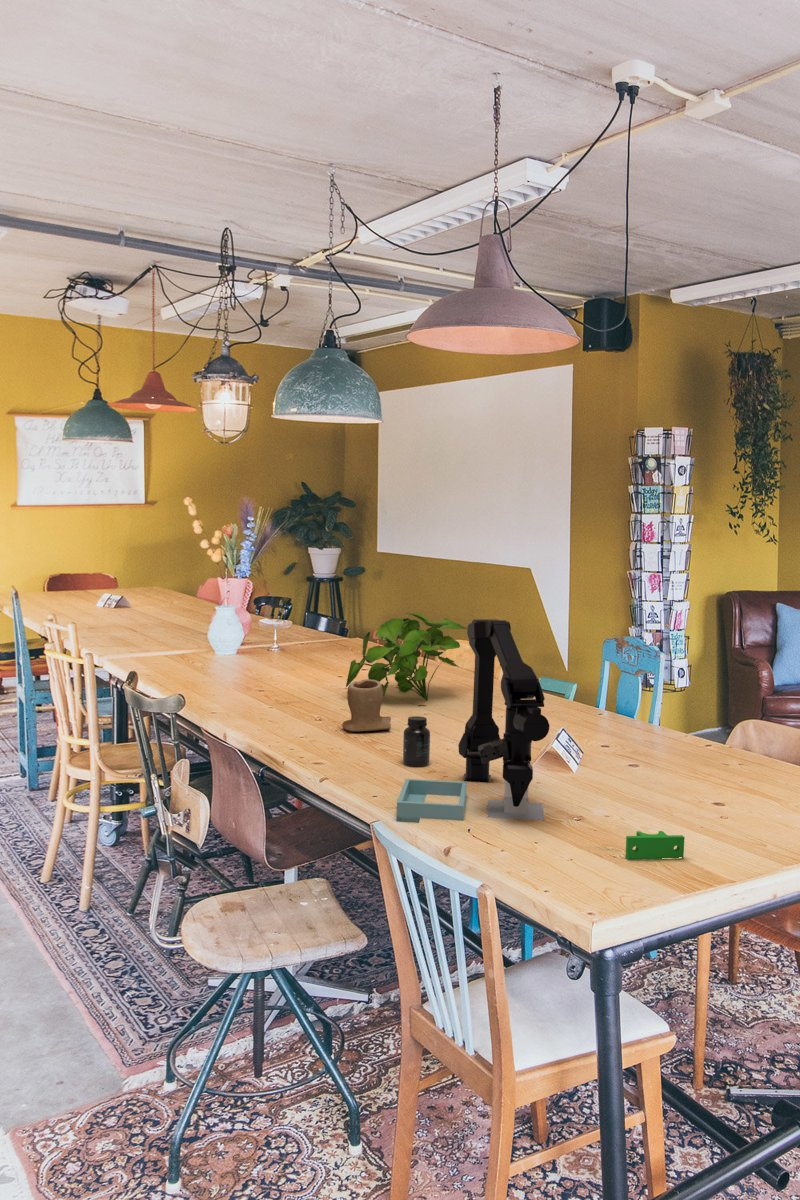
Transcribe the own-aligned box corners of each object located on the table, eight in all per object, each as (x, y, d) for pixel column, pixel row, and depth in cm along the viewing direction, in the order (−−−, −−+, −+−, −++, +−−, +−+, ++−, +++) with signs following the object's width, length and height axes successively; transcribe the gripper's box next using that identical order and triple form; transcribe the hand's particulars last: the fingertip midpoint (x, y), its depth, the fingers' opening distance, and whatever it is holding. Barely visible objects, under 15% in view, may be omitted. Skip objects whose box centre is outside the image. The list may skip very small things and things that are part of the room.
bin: (405, 795, 224) (405, 778, 224) (466, 799, 223) (466, 782, 223) (396, 820, 207) (396, 802, 206) (462, 824, 205) (463, 806, 205)
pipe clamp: (675, 853, 192) (677, 830, 192) (683, 860, 189) (684, 837, 188) (620, 853, 191) (621, 830, 190) (627, 860, 187) (628, 837, 187)
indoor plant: (422, 698, 303) (384, 609, 307) (344, 735, 332) (311, 654, 336) (508, 665, 334) (472, 585, 338) (430, 702, 363) (399, 628, 367)
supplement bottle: (399, 761, 254) (400, 715, 253) (423, 759, 256) (425, 714, 255) (408, 768, 248) (409, 721, 247) (433, 766, 250) (434, 720, 249)
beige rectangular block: (503, 805, 216) (505, 767, 215) (526, 807, 215) (528, 768, 214) (503, 812, 211) (505, 773, 210) (527, 814, 210) (528, 775, 209)
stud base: (488, 804, 219) (488, 786, 219) (542, 807, 218) (542, 789, 218) (487, 821, 208) (487, 802, 207) (544, 825, 206) (545, 805, 206)
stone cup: (347, 736, 280) (349, 684, 278) (339, 727, 291) (340, 677, 290) (399, 734, 284) (400, 683, 282) (388, 725, 295) (389, 676, 294)
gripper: (481, 718, 221) (479, 786, 223) (479, 738, 203) (477, 811, 204) (531, 721, 220) (529, 789, 222) (534, 741, 202) (531, 814, 203)
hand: (515, 800), depth 213 cm, fingers open, 8 cm apart
